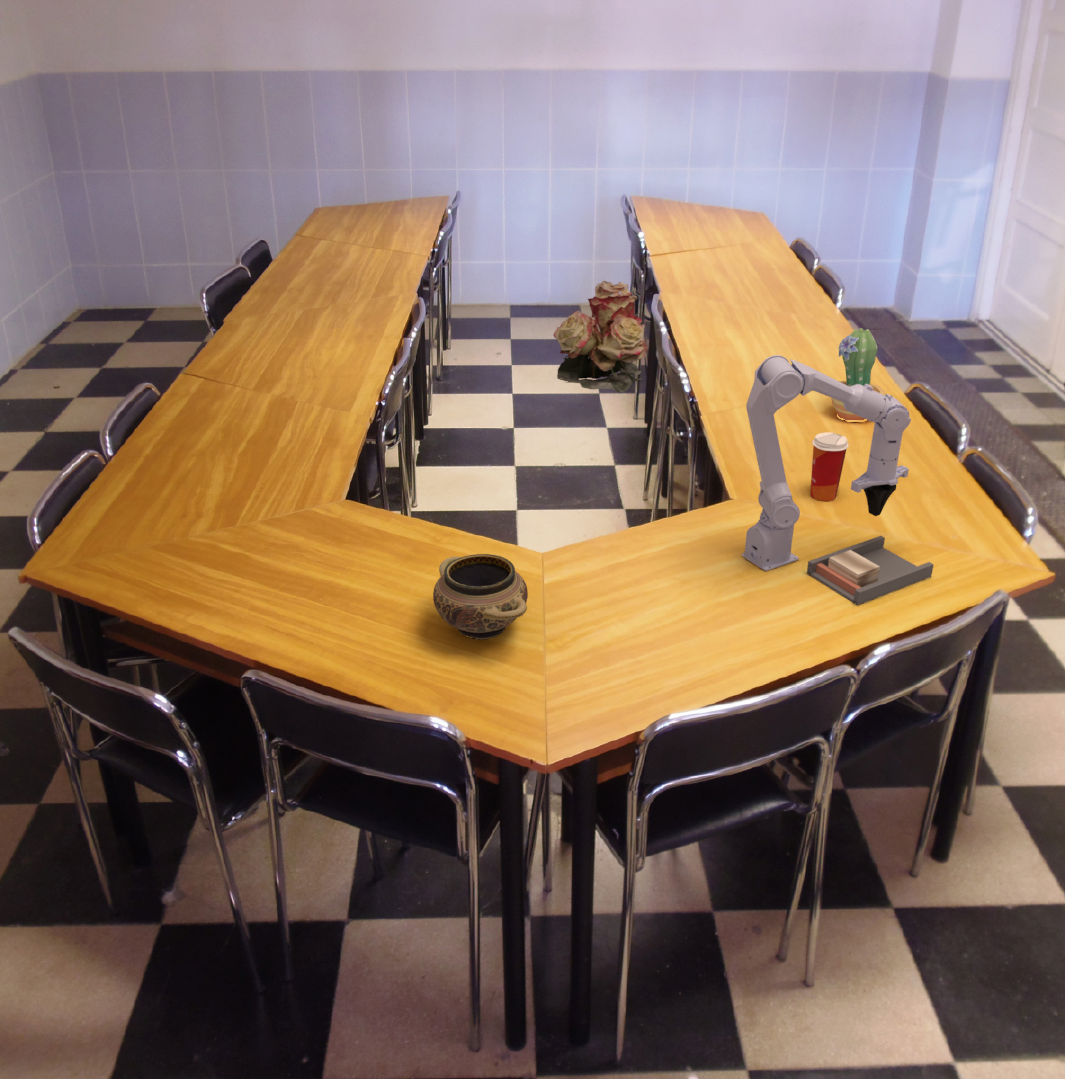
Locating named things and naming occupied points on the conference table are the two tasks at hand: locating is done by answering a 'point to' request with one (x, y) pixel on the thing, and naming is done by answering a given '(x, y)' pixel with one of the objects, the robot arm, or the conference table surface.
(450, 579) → the ceramic bowl
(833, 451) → the coffee cup
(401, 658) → the conference table surface
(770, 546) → the robot arm
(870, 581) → the tan layered slab
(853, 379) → the potted cactus
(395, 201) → the conference table surface
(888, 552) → the bay
